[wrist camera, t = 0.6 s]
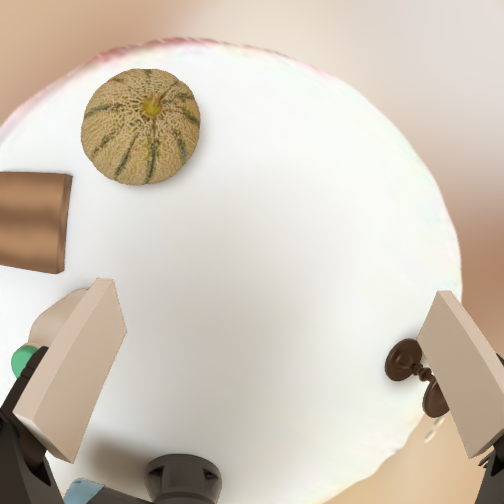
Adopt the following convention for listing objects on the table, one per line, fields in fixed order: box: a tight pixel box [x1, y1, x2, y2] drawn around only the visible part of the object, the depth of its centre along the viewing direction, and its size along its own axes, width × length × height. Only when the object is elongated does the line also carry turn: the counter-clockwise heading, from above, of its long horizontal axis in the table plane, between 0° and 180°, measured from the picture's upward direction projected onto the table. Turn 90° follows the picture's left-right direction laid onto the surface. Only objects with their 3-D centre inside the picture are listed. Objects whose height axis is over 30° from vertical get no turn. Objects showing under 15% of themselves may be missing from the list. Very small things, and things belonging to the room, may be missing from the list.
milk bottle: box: [11, 289, 88, 378], centre depth 31 cm, size 8×8×20 cm
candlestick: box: [385, 339, 450, 418], centre depth 35 cm, size 11×11×35 cm
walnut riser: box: [0, 172, 73, 274], centre depth 36 cm, size 14×14×3 cm
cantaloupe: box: [81, 69, 200, 185], centre depth 32 cm, size 15×15×15 cm
